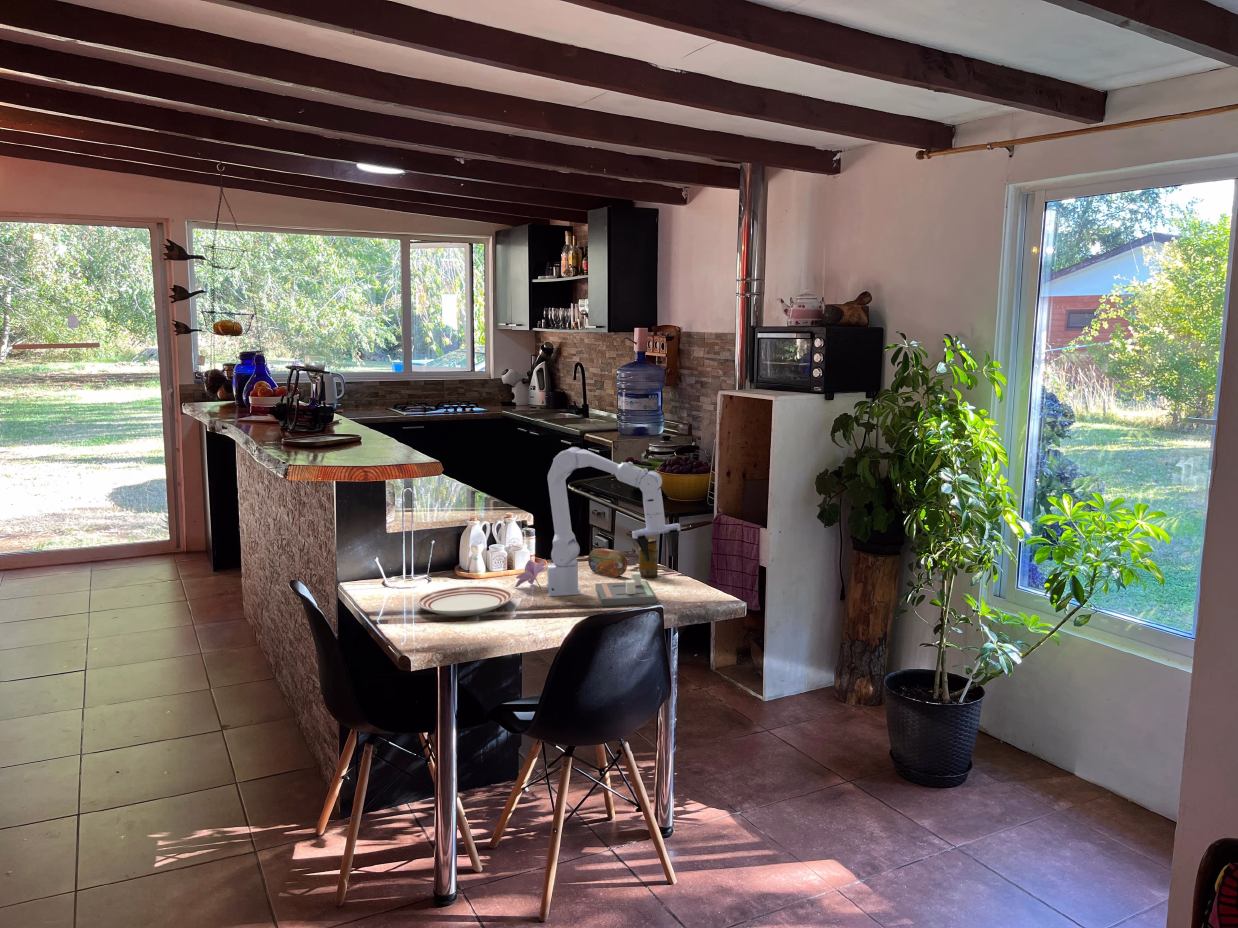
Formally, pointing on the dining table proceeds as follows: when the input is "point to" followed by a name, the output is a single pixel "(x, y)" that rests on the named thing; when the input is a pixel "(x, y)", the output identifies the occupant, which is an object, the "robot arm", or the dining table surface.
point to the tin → (607, 562)
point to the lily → (530, 572)
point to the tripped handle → (630, 586)
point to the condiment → (649, 562)
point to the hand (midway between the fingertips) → (659, 558)
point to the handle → (636, 578)
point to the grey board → (624, 594)
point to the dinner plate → (464, 600)
